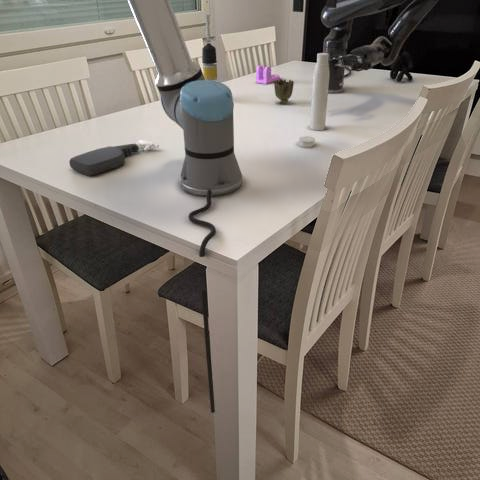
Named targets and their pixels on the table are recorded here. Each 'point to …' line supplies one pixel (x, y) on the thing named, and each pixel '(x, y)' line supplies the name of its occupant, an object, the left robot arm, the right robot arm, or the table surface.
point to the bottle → (320, 92)
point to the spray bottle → (106, 157)
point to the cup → (283, 90)
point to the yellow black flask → (209, 57)
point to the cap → (306, 141)
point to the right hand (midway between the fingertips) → (340, 65)
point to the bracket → (265, 75)
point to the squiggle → (401, 67)
